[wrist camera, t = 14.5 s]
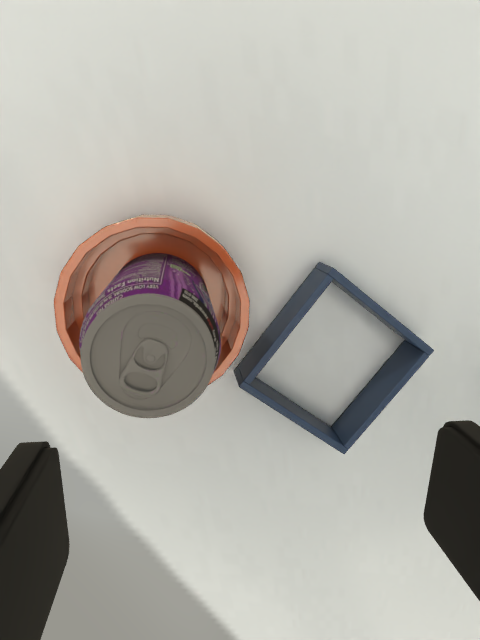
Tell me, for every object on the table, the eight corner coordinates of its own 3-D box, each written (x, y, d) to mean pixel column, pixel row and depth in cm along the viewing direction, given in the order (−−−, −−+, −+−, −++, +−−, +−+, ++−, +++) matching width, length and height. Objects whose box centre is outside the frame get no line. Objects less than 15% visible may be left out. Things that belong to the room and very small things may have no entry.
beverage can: (187, 356, 32) (192, 443, 20) (97, 325, 30) (48, 401, 19) (222, 273, 30) (248, 317, 19) (130, 236, 29) (98, 259, 17)
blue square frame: (413, 338, 35) (434, 350, 32) (331, 434, 36) (344, 454, 34) (319, 261, 32) (333, 267, 29) (233, 370, 33) (238, 387, 30)
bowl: (269, 280, 31) (285, 294, 27) (178, 398, 33) (178, 431, 28) (135, 178, 28) (126, 173, 23) (41, 316, 30) (15, 338, 25)
